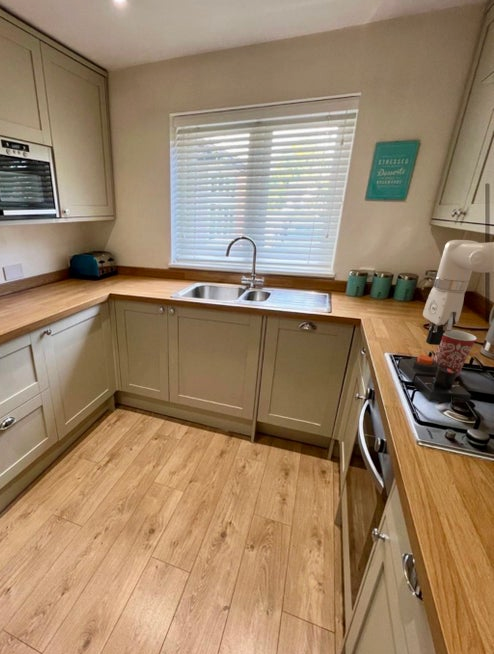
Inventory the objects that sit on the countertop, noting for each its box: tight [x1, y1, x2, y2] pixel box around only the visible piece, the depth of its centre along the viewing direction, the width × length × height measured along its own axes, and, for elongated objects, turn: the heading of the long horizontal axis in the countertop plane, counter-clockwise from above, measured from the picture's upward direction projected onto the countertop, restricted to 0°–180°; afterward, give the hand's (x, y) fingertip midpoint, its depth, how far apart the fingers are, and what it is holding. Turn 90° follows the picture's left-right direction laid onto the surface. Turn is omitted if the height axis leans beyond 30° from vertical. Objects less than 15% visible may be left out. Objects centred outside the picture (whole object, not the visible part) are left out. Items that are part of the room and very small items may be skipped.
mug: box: [433, 329, 478, 378], centre depth 107 cm, size 13×9×14 cm
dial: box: [433, 366, 457, 389], centre depth 94 cm, size 4×4×5 cm
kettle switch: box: [417, 354, 434, 365], centre depth 104 cm, size 4×4×2 cm
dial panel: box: [412, 376, 472, 404], centre depth 96 cm, size 10×9×3 cm
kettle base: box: [398, 356, 438, 383], centre depth 105 cm, size 9×10×5 cm
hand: (432, 343), depth 101 cm, fingers closed
